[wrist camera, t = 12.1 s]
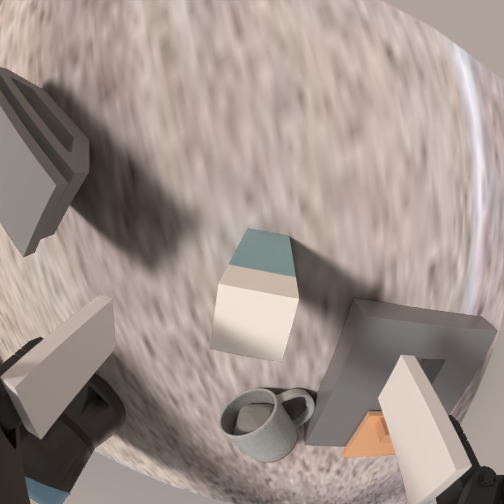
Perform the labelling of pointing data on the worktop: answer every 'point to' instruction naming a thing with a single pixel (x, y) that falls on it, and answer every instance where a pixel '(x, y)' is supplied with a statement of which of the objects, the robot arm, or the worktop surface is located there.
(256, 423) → the ceramic mug
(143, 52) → the worktop surface
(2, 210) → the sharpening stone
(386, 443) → the terracotta shutter
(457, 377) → the socket block
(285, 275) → the teal plug
